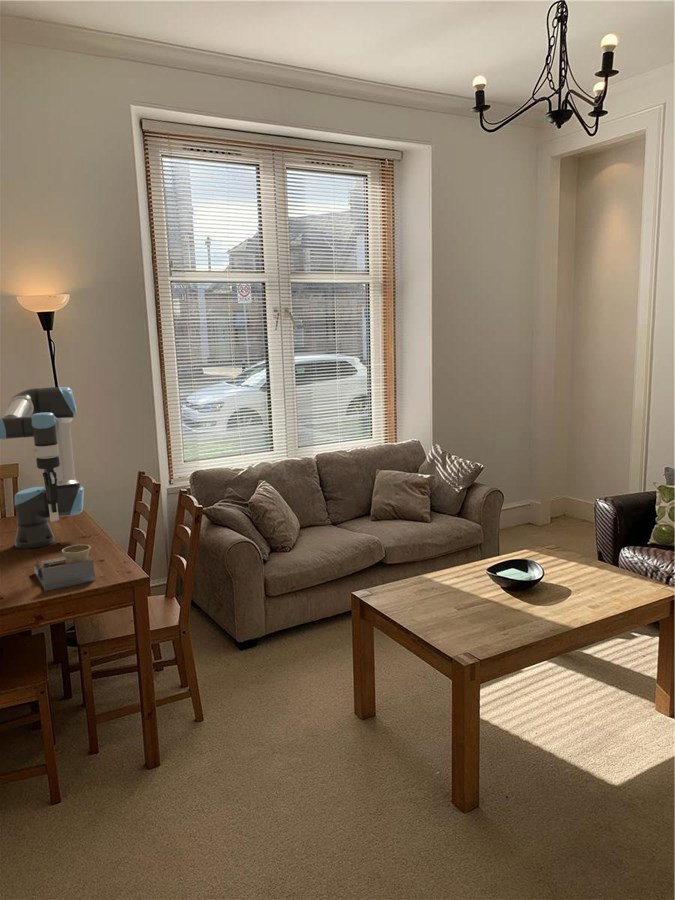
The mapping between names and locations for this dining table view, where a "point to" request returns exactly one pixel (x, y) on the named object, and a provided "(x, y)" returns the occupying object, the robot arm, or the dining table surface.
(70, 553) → the flower pot
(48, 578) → the grey open box
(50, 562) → the block
